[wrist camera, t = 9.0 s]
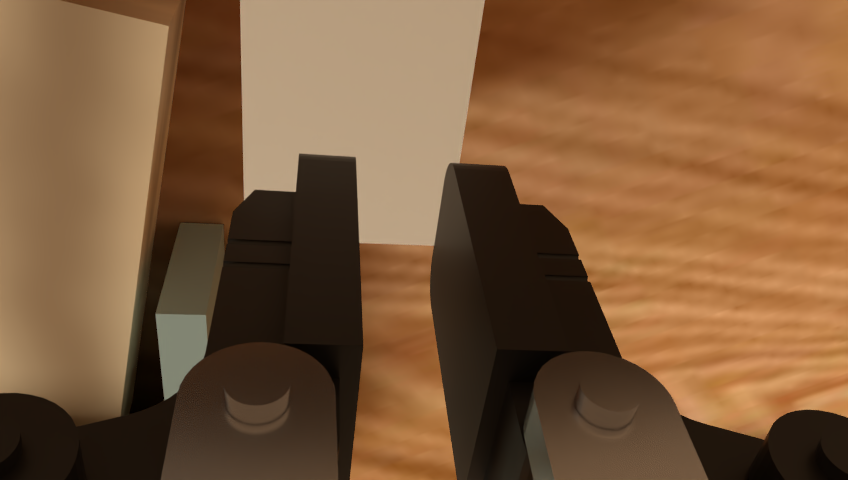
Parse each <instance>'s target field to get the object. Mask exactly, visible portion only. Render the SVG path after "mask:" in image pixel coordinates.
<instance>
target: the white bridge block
mask: <svg viewBox="0 0 848 480" xmlns="http://www.w3.org/2000/svg"><path fill="white" fill-rule="evenodd" d="M484 3H485V0H240V27H241V77H242V128H243V178H244V200H245V199H246V198H247V197H248V196H249V195H250V194H251V193H252V192H253V191H254V190H270V191H288V192H296V184H297V171H298V159H299V153H301V154H317V155H333V156H350V157H356V171H357V198H358V224H359V243H371V244H400V245H428V246H434V243H435V237H436V230H437V224H438V217H439V211H440V205H441V198H442V192H443V185H444V179H445V174H446V170H447V167H448V165H449V164H450V163H460V156H461V150H462V143H463V137H464V131H465V124H466V118H467V111H468V105H469V99H470V92H471V86H472V80H473V73H474V67H475V60H476V54H477V48H478V41H479V35H480V28H481V22H482V16H483V9H484Z"/></svg>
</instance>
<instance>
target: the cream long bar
mask: <svg viewBox="0 0 848 480" xmlns="http://www.w3.org/2000/svg"><path fill="white" fill-rule="evenodd" d="M185 5H186V0H0V393H22V394H30V395H34V396H38V397H42V398H45V399H47V400H49V401H52V402H54V403H56V404H57V405H58V406H60V407H61V408H63V409H64V410H65V411H66V412H67V413H68V414H69V415H70V416H71V418H72V419H73V421H74V423H75V425H76V427H77V426H82V425H86V424H90V423H95V422H99V421H103V420H108V419H112V418H116V417H121V416H125V415H129V412H130V409H131V405H132V401H133V393H134V386H135V379H136V371H137V364H138V356H139V349H140V341H141V334H142V326H143V319H144V311H145V304H146V296H147V289H148V281H149V274H150V266H151V259H152V251H153V244H154V237H155V229H156V222H157V214H158V207H159V199H160V192H161V184H162V177H163V169H164V162H165V154H166V147H167V139H168V132H169V124H170V117H171V110H172V102H173V95H174V87H175V80H176V72H177V65H178V57H179V50H180V42H181V35H182V27H183V20H184V12H185Z"/></svg>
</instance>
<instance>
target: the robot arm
mask: <svg viewBox="0 0 848 480" xmlns="http://www.w3.org/2000/svg"><path fill="white" fill-rule="evenodd" d="M578 256H579V254H578V252H577V249H576V247H575V245H574V242H573V240H572V238H571V235H570V233H569V230H568V228H567V227H565V226H564V225H563V224H562V223H561V222H560V221H559V220H558V219H557V218H556V217H555V216H554V215H553V214H552V213H551V212H549V211H548V210H547V209H546V208H545V207H544V206H543V205H526V204H520V203H519V200H518V197H517V195H516V192H515V189H514V186H513V183H512V180H511V177H510V174H509V172H508V169H507V168H506V167H505V166H496V165H479V164H463V163H450V164H449V165H448V167H447V170H446V174H445V179H444V185H443V192H442V198H441V205H440V211H439V217H438V224H437V230H436V237H435V243H434V250H433V256H432V264H431V278H430V297H431V308H432V314H433V321H434V328H435V335H436V341H437V348H438V355H439V361H440V368H441V375H442V381H443V388H444V395H445V401H446V408H447V415H448V422H449V428H450V435H451V442H452V448H453V455H454V462H455V468H456V475H457V480H848V418H847V417H844V416H841V415H837V414H834V413H830V412H825V411H819V410H799V411H794V412H790V413H787V414H785V415H783V416H781V417H780V418H779V419H777V420H776V421H775V422H774V423H773V425H772V427H771V429H770V431H769V433H768V435H767V436H766V438H765V440H762V439H759V438H755V437H751V436H747V435H744V434H740V433H736V432H733V431H729V430H725V429H722V428H718V427H714V426H711V425H707V424H703V423H700V422H697V421H694V420H691V419H689V418H687V417H684V416H682V415H680V413H679V411H678V409H677V407H676V404H675V402H674V401H673V399H672V397H671V395H670V394H669V392H668V391H667V390H666V389H665V387H664V386H663V385H662V384H661V383H660V382H659V381H658V380H657V379H656V378H655V377H653V376H652V375H651V374H650V373H648V372H647V371H646V370H644V369H642V368H641V367H639V366H637V365H636V364H634V363H631V362H629V361H627V360H625V359H622V357H621V354H620V352H619V350H618V347H617V345H616V343H615V340H614V338H613V335H612V333H611V331H610V328H609V326H608V323H607V321H606V319H605V316H604V314H603V312H602V309H601V307H600V304H599V302H598V300H597V297H596V295H595V292H594V290H593V288H592V285H591V283H590V282H588V281H587V278H588V276H587V273H586V271H585V269H584V266H583V264H582V261H581V260H578ZM362 352H363V328H362V302H361V276H360V250H359V224H358V198H357V171H356V157H350V156H333V155H317V154H301V153H299V159H298V171H297V184H296V192H288V191H270V190H254V191H253V192H252V193H251V194H250V195H249V196H248V197H247V198H246V199H245V200H244V201H243V202H242V203H241V204H240V205H239V206H238V207H237V208H236V209H235V210H234V211H233V215H232V220H231V225H230V230H229V235H228V244H227V245H226V250H225V255H224V260H223V267H222V271H221V276H220V281H219V286H218V291H217V296H216V301H215V306H214V311H213V316H212V321H211V327H210V332H209V337H208V342H207V347H206V352H205V356H204V359H202V360H201V361H200V362H198V363H197V364H196V365H195V366H193V367H192V369H191V370H190V371H189V372H188V373H187V374H186V376H185V377H184V379H183V381H182V382H181V384H180V387H179V390H178V392H177V393H175V394H174V395H172V396H171V397H170V398H168V399H166V400H164V401H162V402H161V403H159V404H157V405H155V406H152V407H150V408H147V409H145V410H142V411H139V412H136V413H132V414H129V415H125V416H121V417H116V418H112V419H108V420H103V421H99V422H95V423H90V424H86V425H82V426H77V427H76V425H75V423H74V421H73V419H72V418H71V416H70V415H69V414H68V413H67V412H66V411H65V410H64V409H63V408H61V407H60V406H58V405H57V404H56V403H54V402H52V401H49V400H47V399H45V398H42V397H38V396H34V395H30V394H22V393H0V480H350V470H351V460H352V450H353V440H354V431H355V421H356V411H357V401H358V391H359V381H360V372H361V362H362Z"/></svg>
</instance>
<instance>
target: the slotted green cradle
mask: <svg viewBox="0 0 848 480" xmlns="http://www.w3.org/2000/svg"><path fill="white" fill-rule="evenodd" d="M224 255H225V251H224V224H203V223H180V226H179V229H178V233H177V237H176V240H175V244H174V248H173V251H172V255H171V259H170V262H169V266H168V270H167V273H166V277H165V281H164V284H163V288H162V291H161V295H160V299H159V302H158V306H157V310H156V313H155V315H156V325H157V334H158V344H159V353H160V363H161V373H162V382H163V392H164V400H166V399H168V398H170V397H171V396H172V395H174V394H175V393H177V392H178V390H179V387H180V384H181V382H182V381H183V379H184V377H185V376H186V374H187V373H188V372H189V371H190V370H191V369H192V367H193V366H195V365H196V364H197V363H198V362H200V361H201V360H202V359H204V356H205V352H206V347H207V342H208V337H209V332H210V327H211V321H212V316H213V311H214V306H215V301H216V296H217V291H218V286H219V281H220V276H221V271H222V267H223V260H224Z"/></svg>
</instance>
